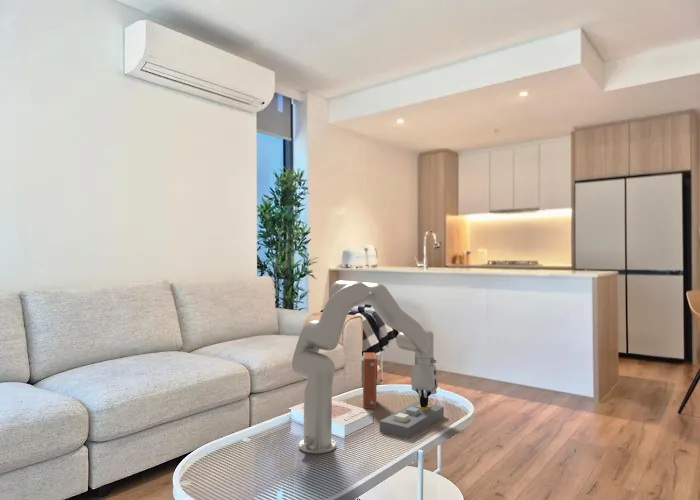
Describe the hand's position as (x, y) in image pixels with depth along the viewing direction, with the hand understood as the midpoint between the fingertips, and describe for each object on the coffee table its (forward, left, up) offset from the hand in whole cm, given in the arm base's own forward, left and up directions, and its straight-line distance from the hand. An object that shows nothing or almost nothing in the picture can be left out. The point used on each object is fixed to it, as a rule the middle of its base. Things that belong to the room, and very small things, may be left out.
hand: (424, 406), depth 196 cm
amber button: (0, 0, -3) cm, 3 cm away
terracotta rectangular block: (+10, +26, -5) cm, 28 cm away
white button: (-17, +6, -2) cm, 18 cm away
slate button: (-9, +3, -2) cm, 9 cm away
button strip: (-9, +3, -5) cm, 10 cm away
